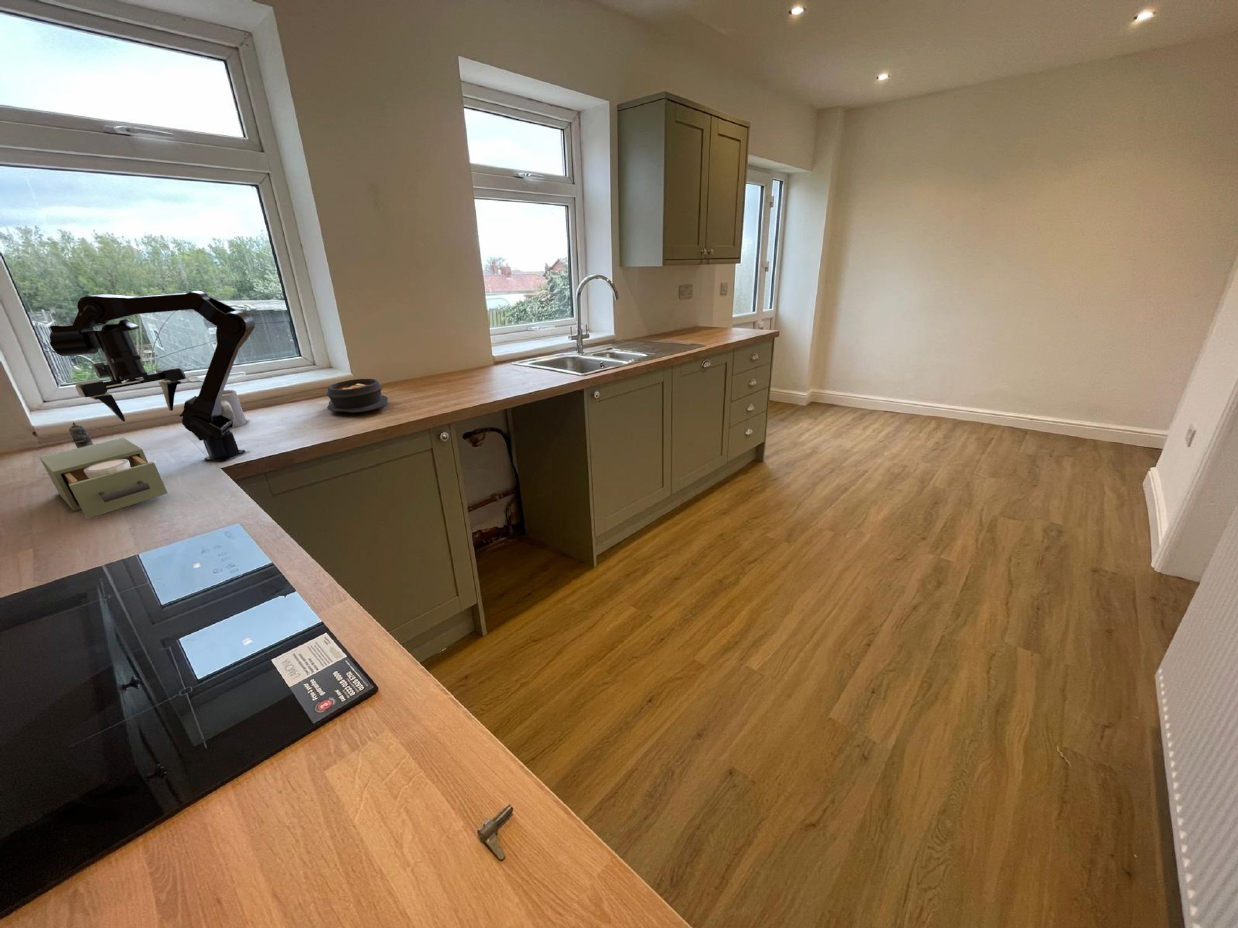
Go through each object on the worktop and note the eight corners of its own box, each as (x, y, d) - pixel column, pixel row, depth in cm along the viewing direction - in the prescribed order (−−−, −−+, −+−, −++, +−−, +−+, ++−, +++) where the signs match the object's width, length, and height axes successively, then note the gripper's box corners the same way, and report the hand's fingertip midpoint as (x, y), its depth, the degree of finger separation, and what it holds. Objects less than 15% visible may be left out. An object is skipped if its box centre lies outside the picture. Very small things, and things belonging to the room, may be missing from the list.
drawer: (175, 498, 106) (161, 467, 103) (92, 524, 97) (74, 491, 94) (148, 479, 117) (134, 450, 114) (71, 501, 107) (55, 470, 104)
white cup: (123, 501, 103) (108, 470, 101) (89, 503, 103) (73, 472, 100) (150, 486, 110) (137, 457, 107) (118, 488, 110) (104, 459, 107)
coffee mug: (207, 425, 158) (195, 394, 154) (245, 418, 163) (234, 388, 160) (209, 435, 148) (196, 402, 144) (249, 427, 154) (237, 395, 150)
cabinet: (158, 485, 115) (142, 449, 112) (74, 511, 105) (52, 471, 101) (139, 471, 124) (123, 437, 120) (59, 494, 113) (39, 457, 110)
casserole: (403, 407, 166) (398, 383, 163) (345, 422, 154) (338, 396, 151) (371, 396, 182) (366, 373, 179) (316, 408, 170) (309, 384, 166)
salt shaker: (91, 471, 125) (68, 426, 121) (73, 470, 126) (50, 425, 122) (117, 462, 131) (96, 418, 126) (99, 461, 132) (78, 418, 127)
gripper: (157, 342, 128) (181, 402, 134) (55, 356, 113) (87, 422, 120) (174, 345, 122) (198, 407, 128) (68, 360, 108) (101, 429, 114)
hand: (148, 415), depth 122 cm, fingers open, 9 cm apart
